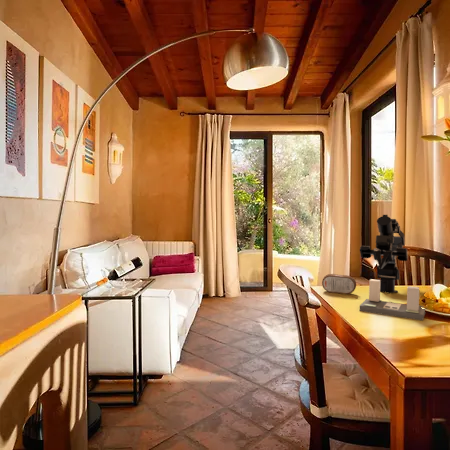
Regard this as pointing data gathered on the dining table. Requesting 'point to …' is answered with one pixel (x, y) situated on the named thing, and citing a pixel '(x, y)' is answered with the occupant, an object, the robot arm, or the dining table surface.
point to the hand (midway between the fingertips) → (380, 268)
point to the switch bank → (392, 309)
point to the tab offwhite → (374, 290)
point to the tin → (339, 283)
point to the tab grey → (413, 298)
